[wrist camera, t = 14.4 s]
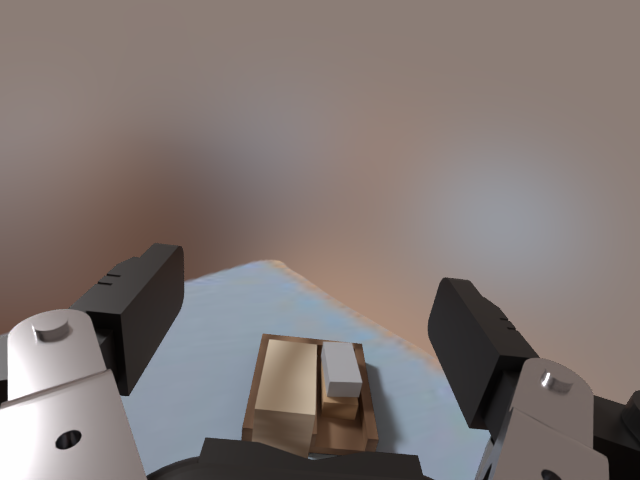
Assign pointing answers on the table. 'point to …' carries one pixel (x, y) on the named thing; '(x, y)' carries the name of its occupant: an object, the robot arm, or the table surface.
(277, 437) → the birch board
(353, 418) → the oak offcut
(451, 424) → the table surface
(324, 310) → the table surface
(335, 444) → the rack
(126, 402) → the table surface
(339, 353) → the grey offcut
